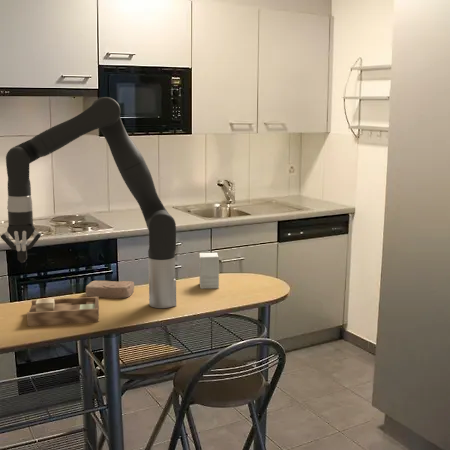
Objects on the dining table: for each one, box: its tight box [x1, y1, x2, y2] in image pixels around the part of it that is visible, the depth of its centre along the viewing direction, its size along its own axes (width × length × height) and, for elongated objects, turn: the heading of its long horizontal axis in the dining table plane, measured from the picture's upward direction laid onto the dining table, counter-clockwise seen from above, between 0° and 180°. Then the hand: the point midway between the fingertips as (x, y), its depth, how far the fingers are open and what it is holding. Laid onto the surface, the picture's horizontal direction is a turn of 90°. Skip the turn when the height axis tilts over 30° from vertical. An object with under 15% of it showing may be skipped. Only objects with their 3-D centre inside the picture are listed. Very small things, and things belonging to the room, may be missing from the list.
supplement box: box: [198, 252, 220, 289], centre depth 238 cm, size 7×7×13 cm
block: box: [36, 298, 55, 312], centre depth 201 cm, size 6×4×3 cm
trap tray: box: [26, 296, 100, 327], centre depth 202 cm, size 22×14×4 cm, turn 101°
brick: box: [85, 280, 135, 299], centre depth 228 cm, size 17×8×5 cm, turn 82°
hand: (22, 261), depth 200 cm, fingers closed
